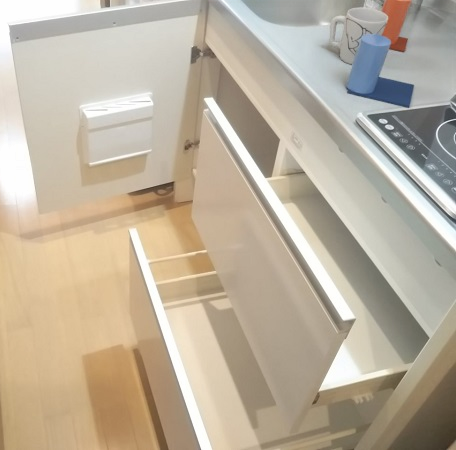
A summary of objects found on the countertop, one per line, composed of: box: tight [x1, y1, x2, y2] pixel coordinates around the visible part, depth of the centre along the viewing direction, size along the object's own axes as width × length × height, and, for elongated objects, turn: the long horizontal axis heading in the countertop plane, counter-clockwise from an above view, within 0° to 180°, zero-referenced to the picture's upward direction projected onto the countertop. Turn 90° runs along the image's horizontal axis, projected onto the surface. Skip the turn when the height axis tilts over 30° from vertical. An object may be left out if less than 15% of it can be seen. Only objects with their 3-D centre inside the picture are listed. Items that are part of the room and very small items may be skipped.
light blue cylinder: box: [345, 34, 391, 94], centre depth 102 cm, size 6×6×10 cm
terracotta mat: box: [389, 36, 409, 53], centre depth 125 cm, size 10×8×1 cm
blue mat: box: [346, 76, 415, 109], centre depth 106 cm, size 12×10×1 cm
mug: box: [328, 6, 388, 65], centre depth 114 cm, size 11×8×10 cm
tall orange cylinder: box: [380, 0, 413, 44], centre depth 121 cm, size 6×6×10 cm
